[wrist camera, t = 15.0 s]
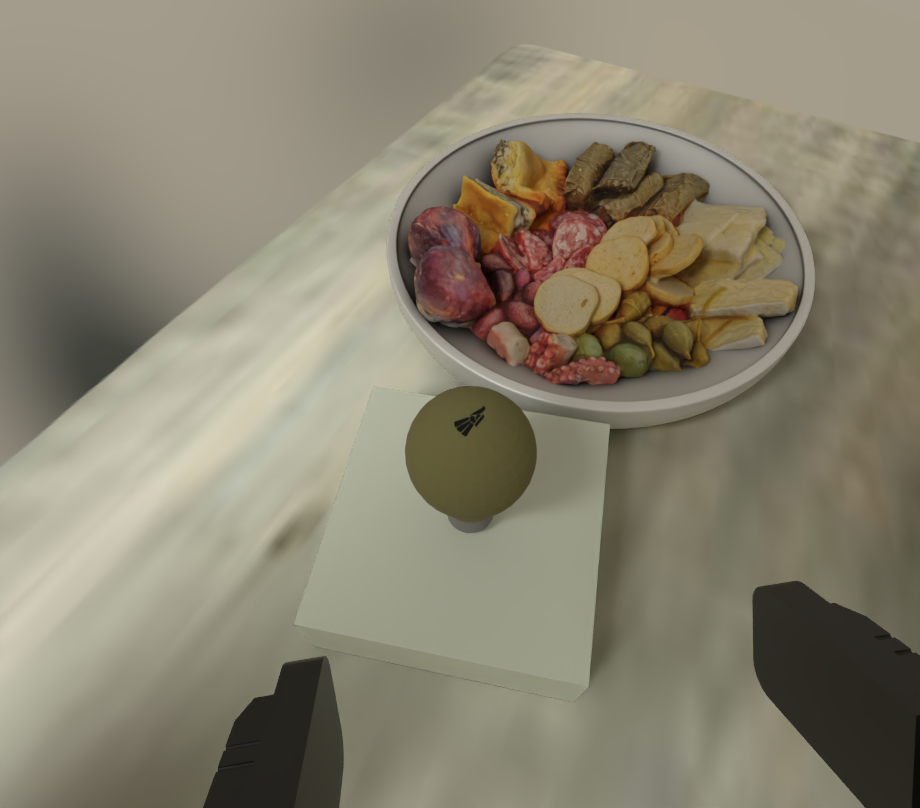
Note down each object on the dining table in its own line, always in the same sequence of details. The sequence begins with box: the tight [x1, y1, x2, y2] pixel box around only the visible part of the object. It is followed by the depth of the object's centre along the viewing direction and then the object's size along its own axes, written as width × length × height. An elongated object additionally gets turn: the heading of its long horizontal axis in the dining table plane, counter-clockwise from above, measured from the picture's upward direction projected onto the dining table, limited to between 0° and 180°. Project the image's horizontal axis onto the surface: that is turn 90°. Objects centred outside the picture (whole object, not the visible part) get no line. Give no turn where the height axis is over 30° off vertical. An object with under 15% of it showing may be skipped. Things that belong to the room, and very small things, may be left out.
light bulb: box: [405, 386, 537, 533], centre depth 28 cm, size 6×6×10 cm
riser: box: [293, 386, 610, 702], centre depth 34 cm, size 14×14×5 cm
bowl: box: [387, 113, 815, 429], centre depth 45 cm, size 30×30×8 cm
